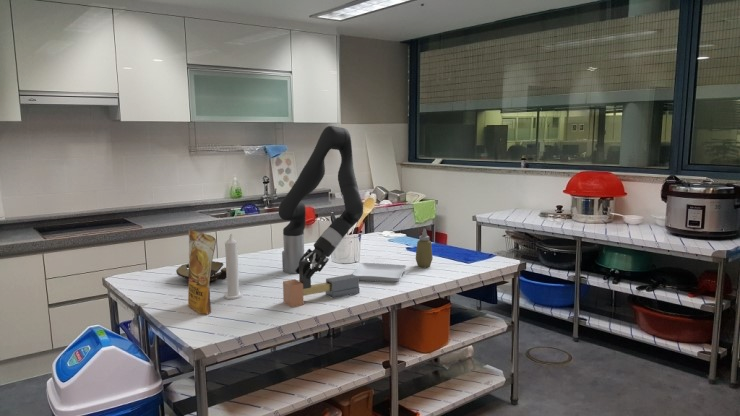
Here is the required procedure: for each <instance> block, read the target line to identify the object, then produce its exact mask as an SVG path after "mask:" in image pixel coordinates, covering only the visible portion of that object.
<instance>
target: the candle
mask: <svg viewBox="0 0 740 416" xmlns="http://www.w3.org/2000/svg"><path fill="white" fill-rule="evenodd" d="M224 247H225V248H224V249H225V268H226V274H227V278H226V290H227V291H226V293H225V294H224V295H223V297H224V299H226V300H237V299H238V300H239V299H241V298H242V297H244V295H243V293H242V292H241V291H240V278H239V258H238V257H239V255H238V254H239V253H238V241H237V240H235V239H234V237H233V234H232V233H230V234H229V237H228V239H227V240H226V241H225V242H224Z"/></svg>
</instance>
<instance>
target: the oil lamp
mask: <svg viewBox="0 0 740 416" xmlns="http://www.w3.org/2000/svg"><path fill="white" fill-rule="evenodd" d="M223 266H224V263H223V262H220V261H213V260H212V268H211V273H210V281H209V282H212V281H216V280H219V281H225V280H227V274H226V267H223ZM219 270H220V271H219ZM175 272H176V274H177V276H178V277H181V278H183V279H186V280H188V281H189V262H188V263H185V264H181V266H179V267H177V268H176V270H175Z"/></svg>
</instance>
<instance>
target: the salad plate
mask: <svg viewBox="0 0 740 416" xmlns="http://www.w3.org/2000/svg"><path fill="white" fill-rule="evenodd" d="M406 268H407V265H405V264H396V263H395V264H394V263H393V264H392V263H377V262H376V263H375V262H361V263H360V264H359V266H358V267H357V268H356V270H354V272H352V274H353V275H355V276H358V277H359V281H367V282H368V281H370V282H382V281H385V282H386V283H395V282H398V281H400V279H401V277H402V275H403V273H404V271H405V269H406ZM385 282H384V283H385Z"/></svg>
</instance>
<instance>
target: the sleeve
mask: <svg viewBox="0 0 740 416" xmlns="http://www.w3.org/2000/svg"><path fill="white" fill-rule="evenodd" d="M326 282H330V283H331V291H326V292H325V295H326V296H328V297H330V298H332V299H336V298H337V299H338V298H342V297H347V296H351V295H357V294H360V292H361V291H360V280H359V277H358V276H355V275H353V273H351V274H346V275H339V276H334V277H328V278H325V283H326Z"/></svg>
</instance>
